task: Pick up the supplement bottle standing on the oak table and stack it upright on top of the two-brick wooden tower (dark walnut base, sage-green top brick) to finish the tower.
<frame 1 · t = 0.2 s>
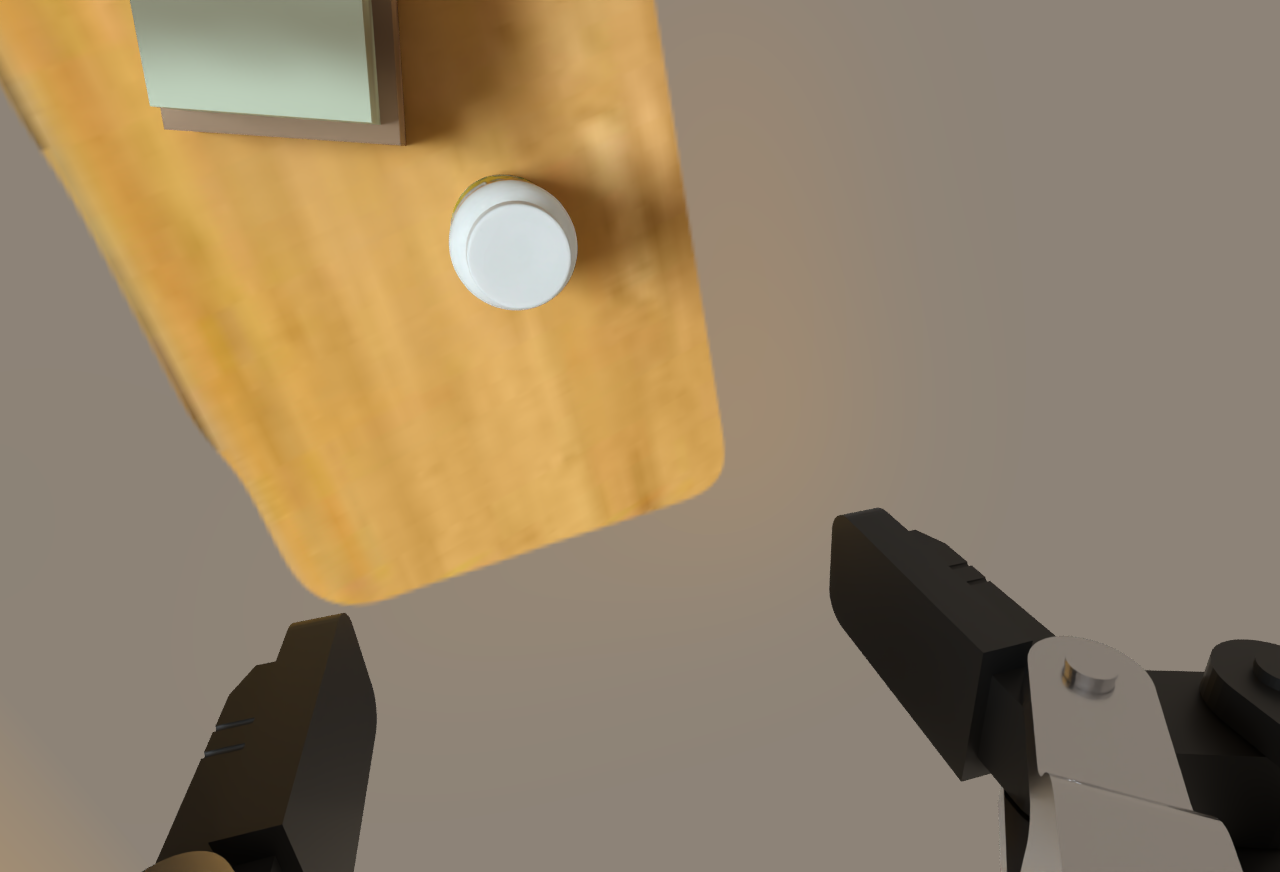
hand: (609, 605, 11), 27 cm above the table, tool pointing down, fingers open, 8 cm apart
supplement bottle: (506, 229, 35), on the table
brick tower: (289, 24, 29), on the table
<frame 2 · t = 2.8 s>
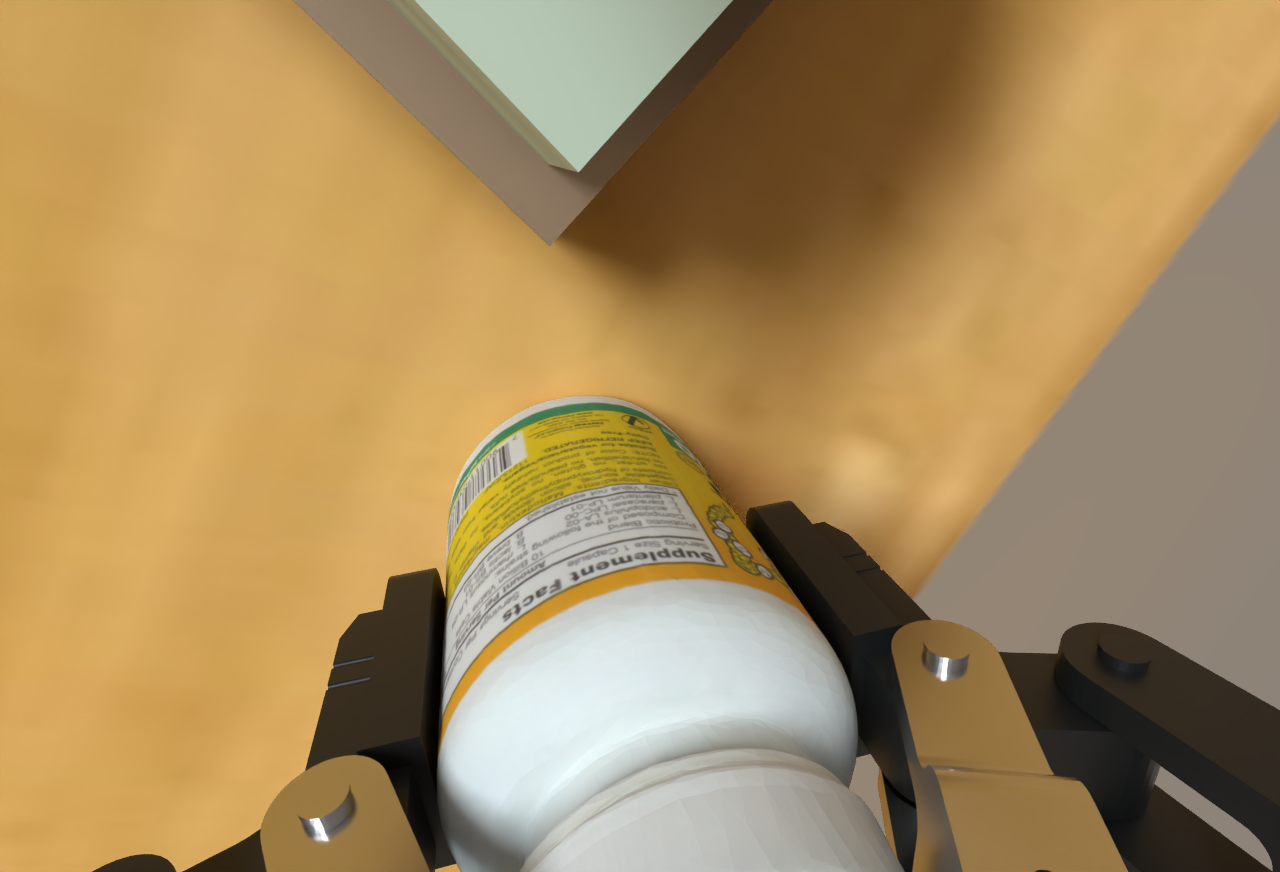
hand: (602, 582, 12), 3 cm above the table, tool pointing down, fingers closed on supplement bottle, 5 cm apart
supplement bottle: (577, 502, 15), on the table, touching gripper
when the fingers open (10 cm above the table, at t = 7.5 s): supplement bottle drops 1 cm, resting on brick tower.
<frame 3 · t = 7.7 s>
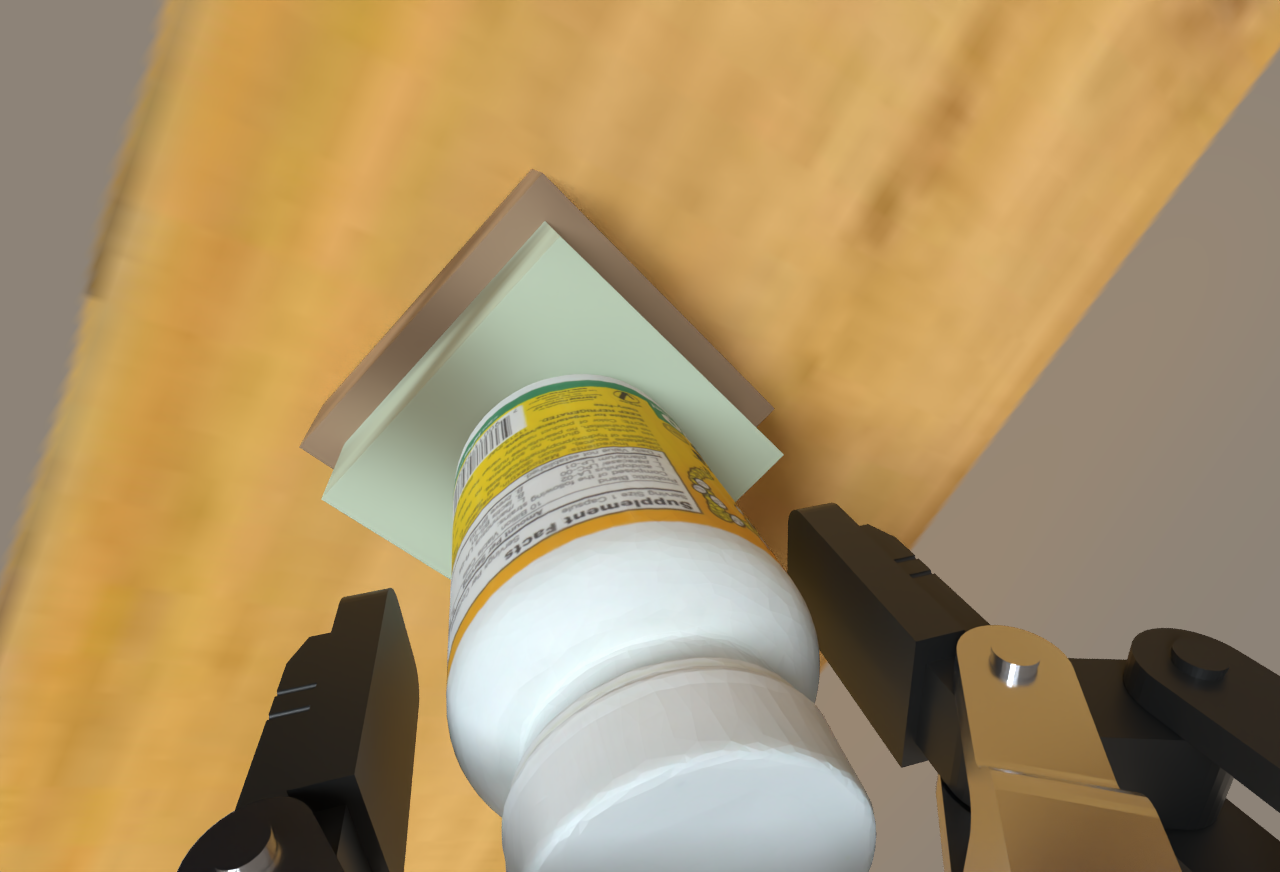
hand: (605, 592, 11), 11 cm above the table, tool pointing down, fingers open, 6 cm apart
supplement bottle: (573, 476, 16), point 6 cm above the table, touching brick tower
brick tower: (543, 390, 21), on the table
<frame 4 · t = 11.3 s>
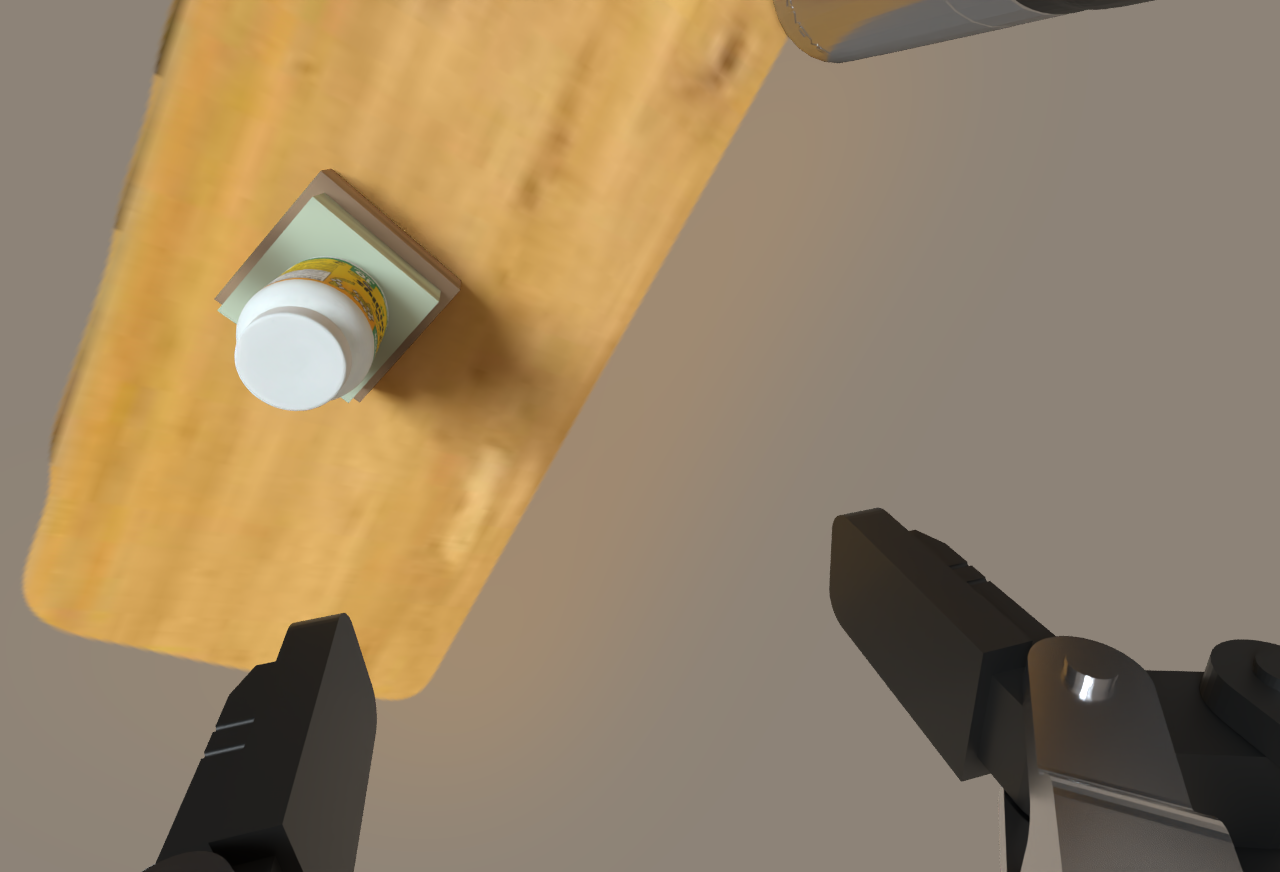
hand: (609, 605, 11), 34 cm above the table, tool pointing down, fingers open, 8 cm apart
supplement bottle: (335, 307, 35), point 6 cm above the table, touching brick tower
brick tower: (350, 284, 40), on the table
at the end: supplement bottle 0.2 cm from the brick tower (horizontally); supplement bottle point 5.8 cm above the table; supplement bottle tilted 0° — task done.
